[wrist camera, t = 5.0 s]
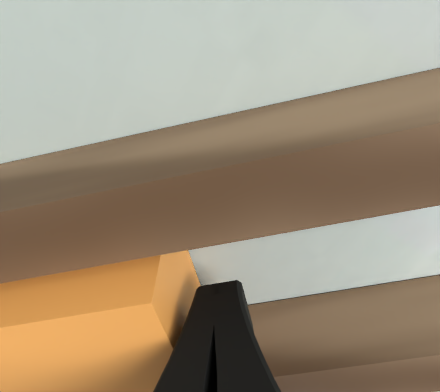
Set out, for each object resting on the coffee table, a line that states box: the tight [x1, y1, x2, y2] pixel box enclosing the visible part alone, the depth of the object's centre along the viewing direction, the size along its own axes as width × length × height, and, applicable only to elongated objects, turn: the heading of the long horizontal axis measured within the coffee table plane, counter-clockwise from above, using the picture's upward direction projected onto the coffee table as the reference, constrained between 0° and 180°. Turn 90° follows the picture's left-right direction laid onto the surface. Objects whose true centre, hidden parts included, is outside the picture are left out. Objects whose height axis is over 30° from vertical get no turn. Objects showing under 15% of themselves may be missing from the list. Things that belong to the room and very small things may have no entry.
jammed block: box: [0, 250, 201, 392], centre depth 11 cm, size 5×5×4 cm
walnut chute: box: [0, 68, 440, 392], centre depth 12 cm, size 10×22×3 cm, turn 103°
